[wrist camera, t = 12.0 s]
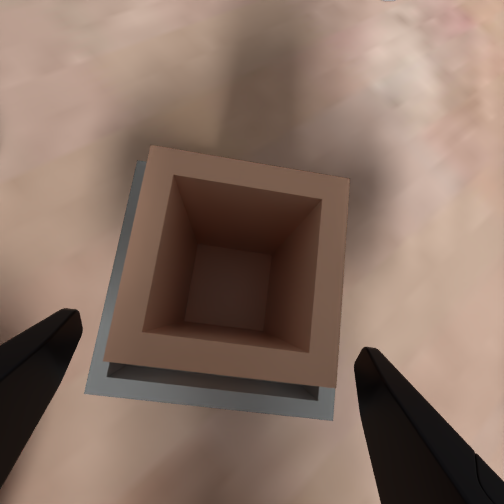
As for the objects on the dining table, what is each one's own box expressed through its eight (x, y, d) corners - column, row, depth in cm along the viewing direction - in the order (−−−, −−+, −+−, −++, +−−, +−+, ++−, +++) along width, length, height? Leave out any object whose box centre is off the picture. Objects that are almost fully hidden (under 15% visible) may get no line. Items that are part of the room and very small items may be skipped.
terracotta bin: (272, 345, 18) (336, 388, 8) (170, 332, 17) (102, 361, 7) (283, 247, 19) (350, 178, 9) (187, 233, 18) (150, 144, 9)
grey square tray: (309, 397, 18) (333, 421, 14) (114, 375, 17) (83, 394, 13) (323, 217, 21) (348, 195, 17) (153, 190, 20) (137, 160, 16)
